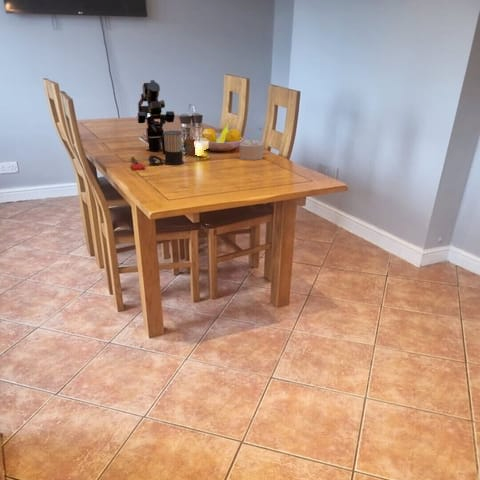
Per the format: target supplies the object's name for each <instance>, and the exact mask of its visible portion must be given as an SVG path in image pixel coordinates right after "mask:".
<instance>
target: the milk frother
mask: <svg viewBox="0 0 480 480" xmlns="http://www.w3.org/2000/svg"><path fill="white" fill-rule="evenodd" d="M182 135H183V132H182V131H181V130H176V129H175V130H173V129H169V130H164V132H163V134H162V136H161V149H162V151H161V152H162V155H163V156H164V159H163V158H161V157H160V156H157V155H149V156H148V158H147V159H148V162H149V163H150V164H152V165H154V166H158V165H159V166H160V165H162V164H163V162H164V164H167V165H170V166H179V165H182V164H183V163H184V160H183V139H182V138H183V136H182ZM157 161H159V162H157Z"/></svg>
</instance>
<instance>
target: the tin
mask: <svg viewBox="0 0 480 480" xmlns="http://www.w3.org/2000/svg"><path fill="white" fill-rule="evenodd" d="M195 139H196V138H190V137H187V138H185V139H184V141H183V150H184V152H185V154H187V155H189V156H193V157H195V158H196V157H197V158H200V157H201V156H197V155H195V147H194V141H195Z"/></svg>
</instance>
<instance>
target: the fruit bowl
mask: <svg viewBox="0 0 480 480" xmlns="http://www.w3.org/2000/svg"><path fill="white" fill-rule="evenodd" d="M201 135H202V137H204V138H206V139H208V140H209V149H208V150H209V151H212V152H229V151H232V150H234V149H237V148H239V146H240V143H242V142H243V141H244V140H245V137H243V136H242V135H241V133H240V131H239V130H238V128H231V129H230V130H229V123H226V125H225V126H224V128H223V130H222V131H221V133H217V132H216V131H215V130H213V128H210V127H207V128H204V130H203V131H202V132H201Z"/></svg>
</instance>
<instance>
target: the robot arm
mask: <svg viewBox="0 0 480 480" xmlns="http://www.w3.org/2000/svg"><path fill="white" fill-rule="evenodd" d="M160 87H161V86H160V84H159V83H158V82H156V81H155V80H154V79H152V80H151V79H150V82H143V84H142V87H141V88H142V93H141V94H140V100H139V101H138V102H137V123H138V124H145V123H146V128H145V137H146V138H145V139H146V140H148V149H147V151H149V152H154V153H157V152H162V142H161V136H162V134H163V132H164V131H165V130H164V129H163V127H164V125H165V124H166V123H174V121H175V116H176V115H175V112H174V111H173V110H170V111H169V110H168V111H167V110H166V111H165V113H162V109H165V107H166V103H165V100H159V97H160V91H161V88H160ZM144 102H146V103H147V105H143V103H144Z"/></svg>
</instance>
